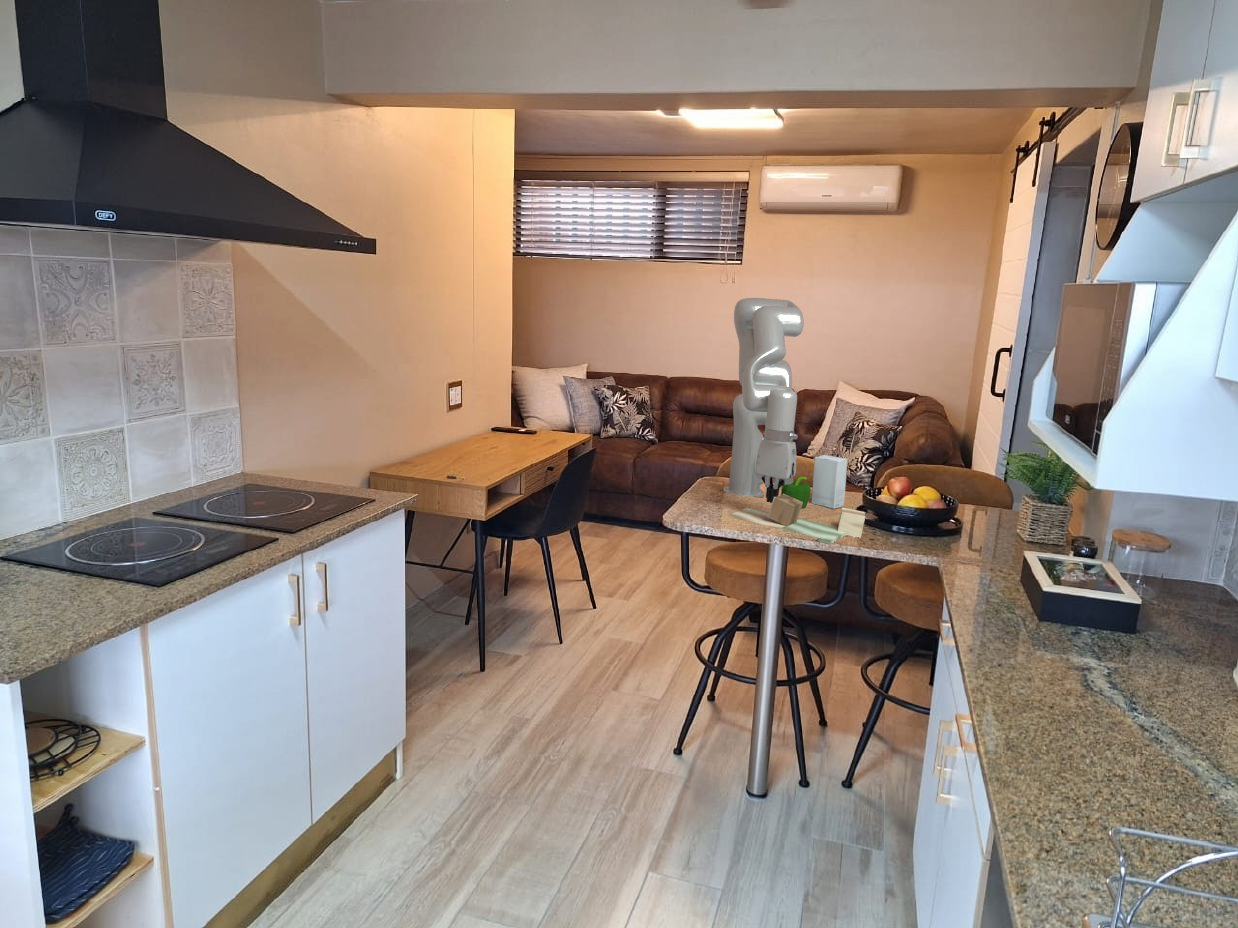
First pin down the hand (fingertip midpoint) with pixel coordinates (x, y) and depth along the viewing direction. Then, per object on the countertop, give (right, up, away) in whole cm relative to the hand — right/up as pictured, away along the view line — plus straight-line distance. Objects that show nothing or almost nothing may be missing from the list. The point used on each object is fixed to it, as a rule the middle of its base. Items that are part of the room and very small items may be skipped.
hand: (771, 501), depth 222 cm
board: (+4, -7, -1) cm, 8 cm away
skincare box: (+21, -2, +25) cm, 33 cm away
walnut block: (+1, -1, -1) cm, 2 cm away
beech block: (+20, -8, -4) cm, 22 cm away
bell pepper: (+10, -3, +17) cm, 20 cm away
